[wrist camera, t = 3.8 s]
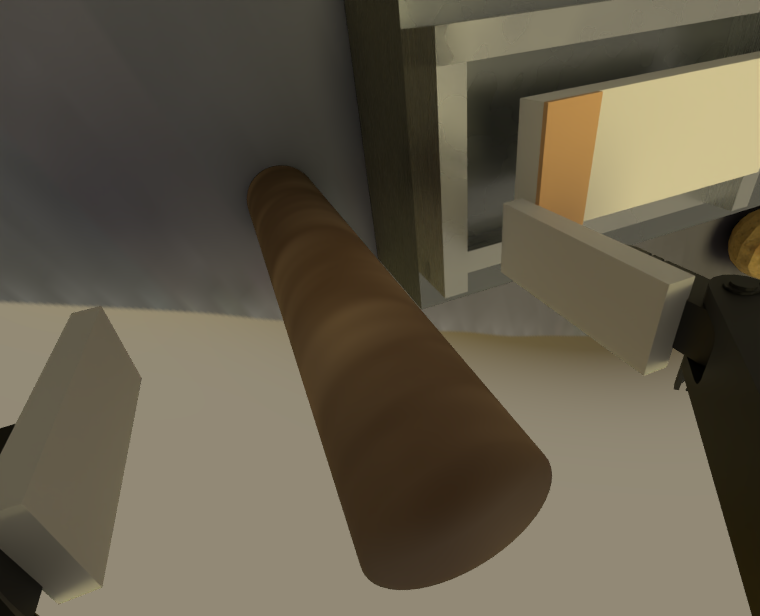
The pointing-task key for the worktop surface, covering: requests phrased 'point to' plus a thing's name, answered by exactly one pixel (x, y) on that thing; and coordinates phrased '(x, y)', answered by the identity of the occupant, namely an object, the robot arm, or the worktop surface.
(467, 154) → the grey storage bin
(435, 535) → the brown rounded rod
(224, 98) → the worktop surface
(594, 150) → the rocker
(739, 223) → the potato
